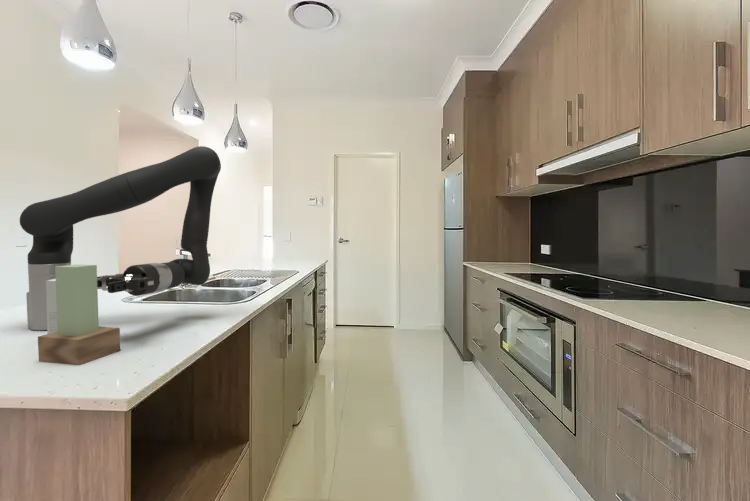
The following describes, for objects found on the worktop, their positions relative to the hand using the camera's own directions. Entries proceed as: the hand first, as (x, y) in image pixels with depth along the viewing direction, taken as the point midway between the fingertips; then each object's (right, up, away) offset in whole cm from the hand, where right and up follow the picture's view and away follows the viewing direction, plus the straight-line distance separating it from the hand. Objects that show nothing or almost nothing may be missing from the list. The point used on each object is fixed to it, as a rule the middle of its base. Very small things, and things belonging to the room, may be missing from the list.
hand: (92, 287), depth 93 cm
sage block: (-1, -9, -3) cm, 10 cm away
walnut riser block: (-1, -14, -3) cm, 14 cm away
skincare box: (-13, -13, +12) cm, 22 cm away
